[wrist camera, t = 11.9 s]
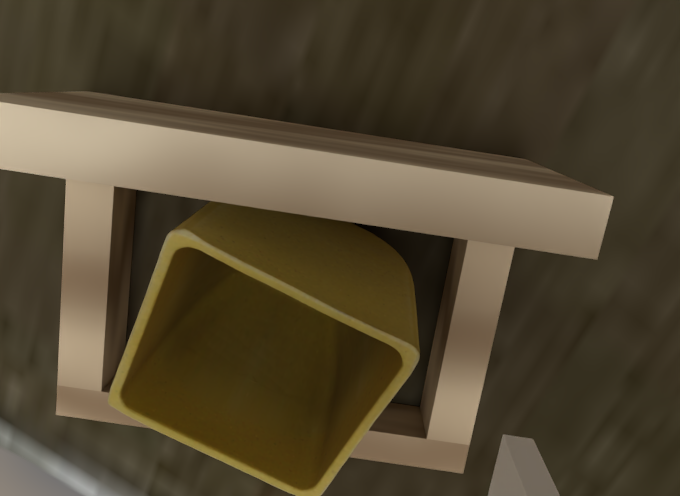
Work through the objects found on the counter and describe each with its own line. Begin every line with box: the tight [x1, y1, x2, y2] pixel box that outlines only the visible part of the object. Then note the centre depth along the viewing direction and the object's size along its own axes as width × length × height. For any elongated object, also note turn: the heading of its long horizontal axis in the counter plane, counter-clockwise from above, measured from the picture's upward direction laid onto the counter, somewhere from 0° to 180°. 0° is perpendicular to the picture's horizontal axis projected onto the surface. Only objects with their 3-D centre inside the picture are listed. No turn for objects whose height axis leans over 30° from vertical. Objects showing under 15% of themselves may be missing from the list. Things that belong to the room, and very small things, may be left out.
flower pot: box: [108, 201, 420, 496], centre depth 25 cm, size 9×9×9 cm
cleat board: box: [0, 91, 614, 473], centre depth 26 cm, size 14×20×10 cm
